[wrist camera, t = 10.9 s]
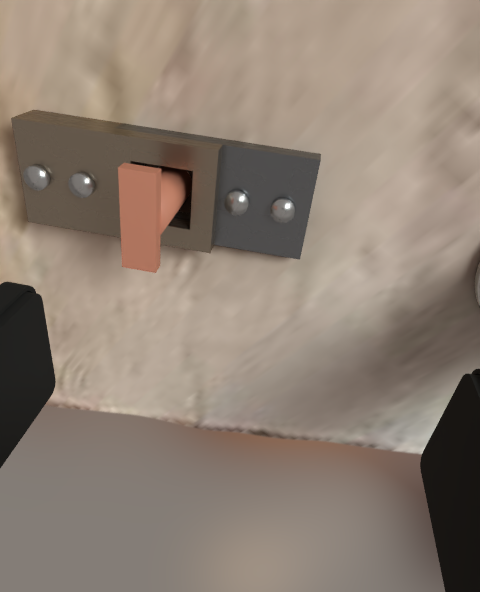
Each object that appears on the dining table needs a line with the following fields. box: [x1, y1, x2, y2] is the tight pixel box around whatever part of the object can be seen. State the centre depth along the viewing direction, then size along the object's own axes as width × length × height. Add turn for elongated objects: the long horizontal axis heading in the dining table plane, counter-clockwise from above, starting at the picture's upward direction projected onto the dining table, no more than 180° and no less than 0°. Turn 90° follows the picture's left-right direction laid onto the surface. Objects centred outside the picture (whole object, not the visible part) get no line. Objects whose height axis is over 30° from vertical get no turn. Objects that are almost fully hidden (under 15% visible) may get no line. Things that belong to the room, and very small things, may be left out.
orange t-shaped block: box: [118, 163, 192, 273], centre depth 33 cm, size 3×7×8 cm, turn 174°
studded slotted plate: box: [11, 110, 321, 259], centre depth 34 cm, size 22×8×4 cm, turn 84°
